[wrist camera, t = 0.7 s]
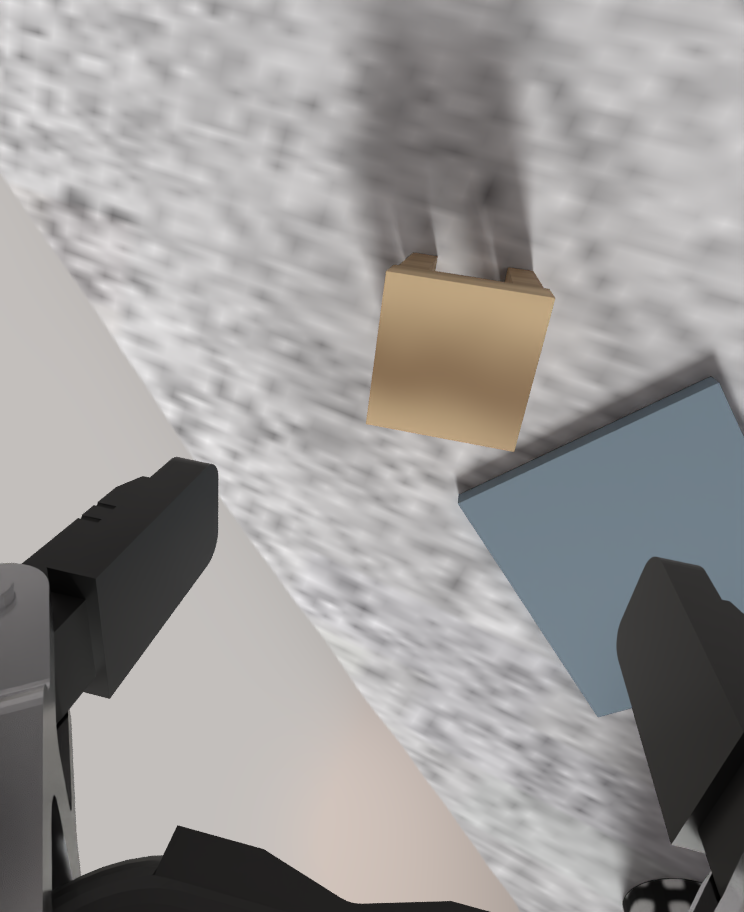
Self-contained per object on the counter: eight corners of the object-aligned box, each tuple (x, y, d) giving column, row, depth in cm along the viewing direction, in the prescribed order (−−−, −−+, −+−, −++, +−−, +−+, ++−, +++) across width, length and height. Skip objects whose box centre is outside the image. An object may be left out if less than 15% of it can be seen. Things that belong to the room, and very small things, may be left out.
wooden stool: (411, 250, 27) (386, 271, 20) (535, 269, 27) (555, 298, 19) (393, 368, 30) (366, 423, 23) (506, 388, 29) (514, 451, 22)
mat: (458, 495, 32) (457, 503, 31) (711, 376, 27) (718, 382, 26) (595, 704, 37) (598, 717, 36) (831, 637, 32) (841, 650, 31)
